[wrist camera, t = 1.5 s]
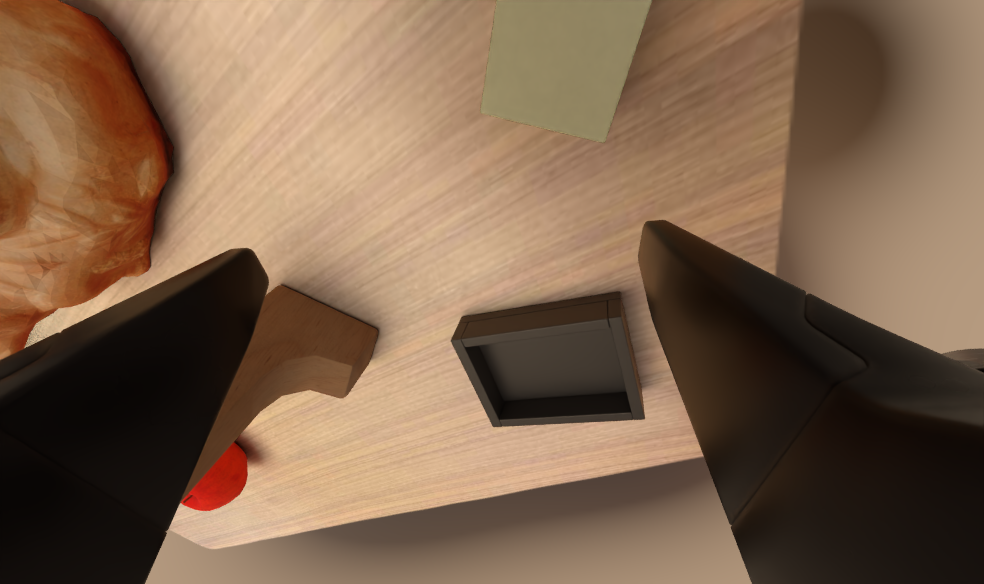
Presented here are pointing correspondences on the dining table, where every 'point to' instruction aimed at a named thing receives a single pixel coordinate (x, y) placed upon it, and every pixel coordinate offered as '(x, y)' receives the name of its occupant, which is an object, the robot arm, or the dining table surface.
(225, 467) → the apple
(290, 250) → the dining table surface
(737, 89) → the dining table surface
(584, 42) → the olive green block
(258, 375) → the wooden block
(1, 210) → the ceramic vessel
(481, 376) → the mount
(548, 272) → the dining table surface
